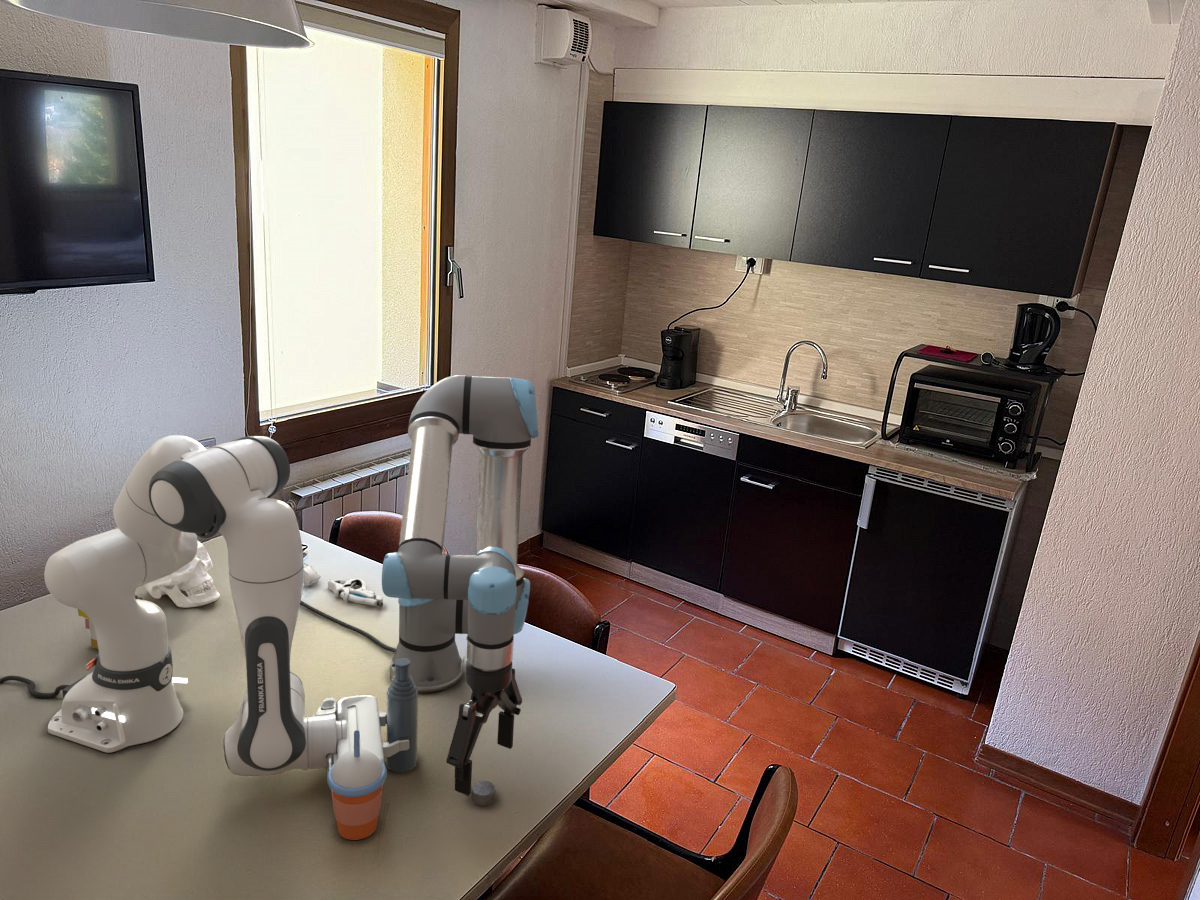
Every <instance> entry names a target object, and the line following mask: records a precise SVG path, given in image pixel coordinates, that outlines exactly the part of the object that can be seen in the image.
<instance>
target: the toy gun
mask: <svg viewBox="0 0 1200 900" xmlns="http://www.w3.org/2000/svg"><path fill="white" fill-rule="evenodd" d="M356 586H358V588H356V589H355V588H354V587H356ZM359 587H360V588H359ZM327 589H328V590H329V591H331V592H332V593H334V597H336V599H340V598H342V599H343V601H344V602H345V603H349V602H352V603H356V604H359V605H367V606H371V607H374V608H377V607H380V608H382V607H383V606H384V602H383V601H384V597H383V596H381V595H379V594H376V592H375V591H372V590H371V589H370V590H368V588H367V585H366V583H365V581H363V580H362V579H360V578H353V579H352V578H351V579H342V580H341V579H340V580H339V579H338V580H334V579H328V581H327Z"/></svg>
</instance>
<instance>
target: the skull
mask: <svg viewBox="0 0 1200 900" xmlns="http://www.w3.org/2000/svg"><path fill="white" fill-rule="evenodd" d="M213 568H214V565H213V562H212V559H211V557H210V554H209V552H208V550H207V548H206V547H205V545H204V544H203V543H201V541H199V540H198V549H197V553H196V556H195V558H194V559H193V560H192V561H191V562H189V563H188V564H186V565H185V566H183V567H182V568H180V569H179V570H177V571H175V572H174V573H172V574H170V575H167V576H165V577H162V578H160V579H157V580H155V581H152V582H150V583H147V584H144V585H142V586H143V587H144V588H145V590H146V591H147V592H148V594H149V595H150V596H151V597H152V598H154V599H161V598H162V596H164V595H167V596H168V597H169V598H170V599H171V600H172V602H173V603H174V604H175V603H176V604H175V605H176V607H178V608H185V609H186V608H188V609H189V608H196V607H202V606H205V605H208V604H211V603H213V602H217V601H218V600H219V599H220V598H221V593H220V592H218V590H217V587H216V586H215V584H214V583H215V580H214V579H213V577H212V576H211V575H210V574H209V573H208V572H209V571H210V570H212V569H213ZM203 588H204V589H203ZM182 591H183V592H185V593H186V594H187V595H185V594H184V593H182ZM179 604H183V605H179ZM185 604H186V605H185Z"/></svg>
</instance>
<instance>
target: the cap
mask: <svg viewBox="0 0 1200 900" xmlns="http://www.w3.org/2000/svg"><path fill="white" fill-rule="evenodd" d="M495 793H496V788H495V784H494V783H492V782H491V781H488V780H479V781H476V782H475V783H474V784H473V786H472V789H471V800H472V802H473V804H474V805H477V806H480V807H487V806H489V805H491V804H492V803H494V801H495V797H496V796H495V795H496V794H495Z"/></svg>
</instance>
